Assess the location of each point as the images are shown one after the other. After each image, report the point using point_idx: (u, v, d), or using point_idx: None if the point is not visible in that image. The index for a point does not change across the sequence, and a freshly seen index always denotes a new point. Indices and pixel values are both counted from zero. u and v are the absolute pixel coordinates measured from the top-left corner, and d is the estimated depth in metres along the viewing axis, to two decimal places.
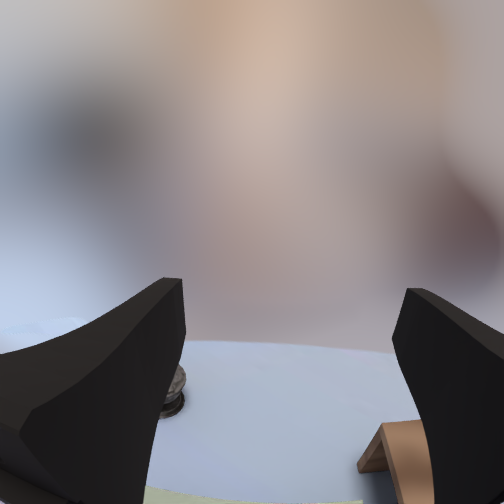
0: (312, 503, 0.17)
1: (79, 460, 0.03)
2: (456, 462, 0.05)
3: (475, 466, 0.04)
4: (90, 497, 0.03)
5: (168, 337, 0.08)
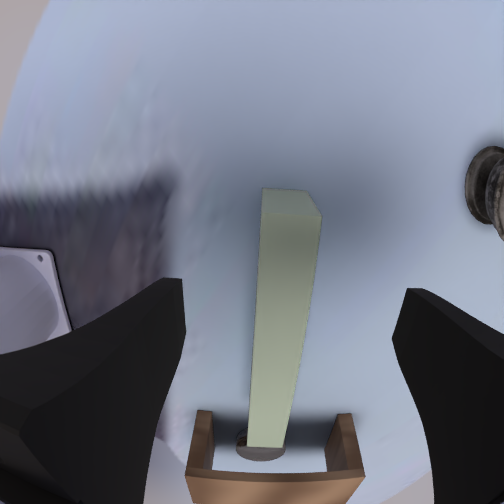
0: None
1: (79, 460, 0.03)
2: (456, 462, 0.05)
3: (475, 466, 0.04)
4: (90, 497, 0.03)
5: (168, 337, 0.08)
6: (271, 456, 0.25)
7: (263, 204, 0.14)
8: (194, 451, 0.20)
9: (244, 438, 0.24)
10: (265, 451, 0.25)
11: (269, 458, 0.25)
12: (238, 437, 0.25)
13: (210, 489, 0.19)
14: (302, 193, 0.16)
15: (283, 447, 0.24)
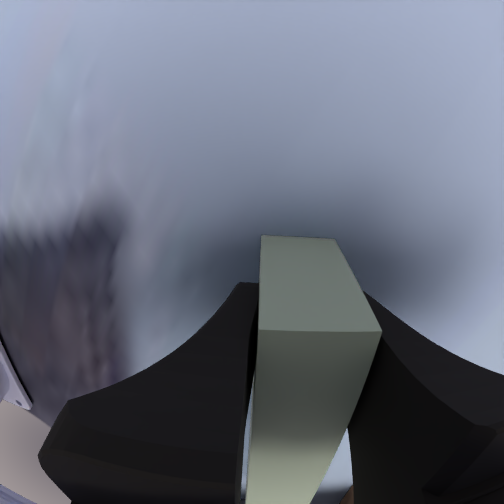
0: None
1: None
2: (369, 481, 0.05)
3: (384, 490, 0.04)
4: None
5: (254, 344, 0.08)
6: None
7: (262, 294, 0.07)
8: None
9: None
10: None
11: None
12: None
13: None
14: (330, 249, 0.10)
15: None
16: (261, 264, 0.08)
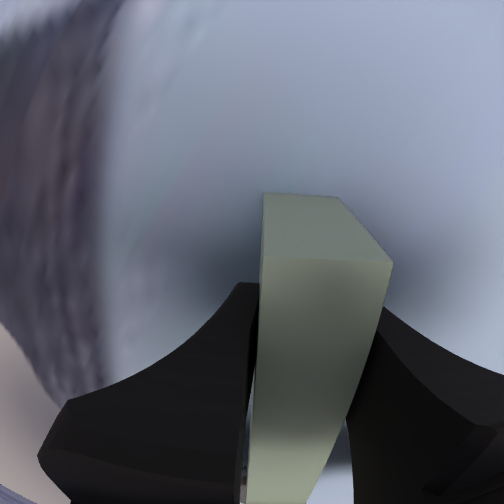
0: None
1: (237, 490, 0.03)
2: (370, 481, 0.05)
3: (385, 489, 0.04)
4: None
5: (254, 344, 0.08)
6: None
7: (266, 231, 0.07)
8: None
9: (241, 482, 0.16)
10: None
11: None
12: None
13: None
14: (334, 204, 0.09)
15: None
16: (264, 211, 0.08)
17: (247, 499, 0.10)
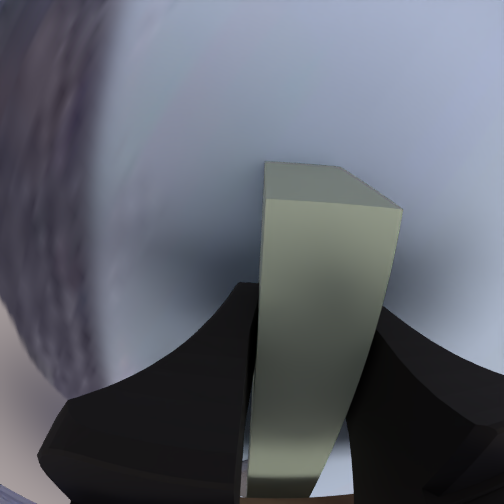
0: None
1: (237, 490, 0.03)
2: (370, 481, 0.05)
3: (385, 489, 0.04)
4: None
5: (254, 344, 0.08)
6: None
7: (268, 183, 0.06)
8: None
9: (242, 475, 0.15)
10: None
11: None
12: None
13: None
14: (336, 170, 0.09)
15: None
16: (266, 172, 0.08)
17: (248, 490, 0.09)
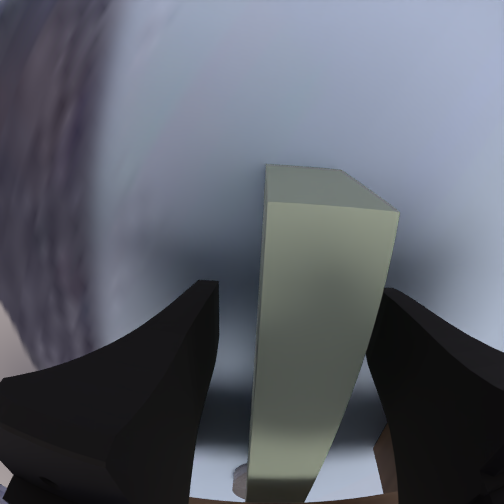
0: None
1: (149, 478, 0.03)
2: (418, 472, 0.05)
3: (436, 478, 0.04)
4: None
5: (208, 341, 0.08)
6: None
7: (269, 186, 0.07)
8: None
9: (242, 477, 0.16)
10: None
11: None
12: (235, 474, 0.16)
13: None
14: (336, 172, 0.09)
15: None
16: (267, 175, 0.08)
17: (248, 486, 0.09)
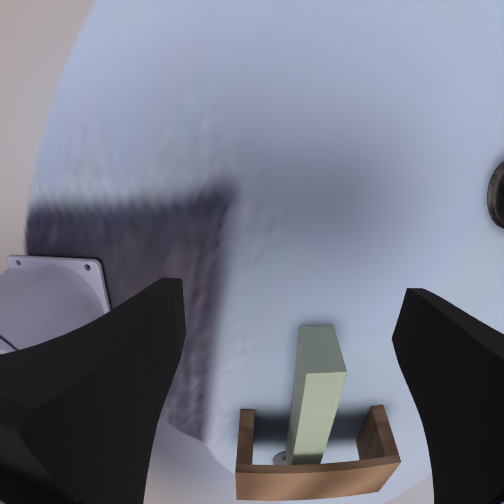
0: None
1: (79, 460, 0.03)
2: (456, 462, 0.05)
3: (475, 465, 0.04)
4: (90, 497, 0.03)
5: (168, 337, 0.08)
6: None
7: (305, 359, 0.19)
8: (242, 448, 0.22)
9: (280, 460, 0.28)
10: None
11: None
12: (275, 459, 0.28)
13: (257, 484, 0.20)
14: (330, 331, 0.21)
15: None
16: (302, 343, 0.20)
17: (292, 459, 0.21)
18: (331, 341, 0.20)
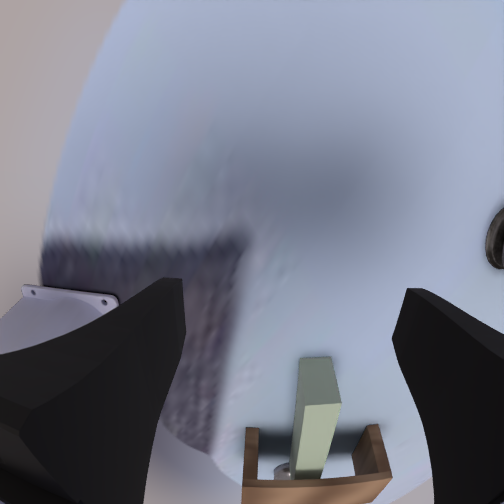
0: None
1: (79, 460, 0.03)
2: (456, 462, 0.05)
3: (475, 466, 0.04)
4: (90, 497, 0.03)
5: (168, 337, 0.08)
6: None
7: (304, 391, 0.20)
8: (248, 464, 0.23)
9: (280, 472, 0.29)
10: None
11: None
12: (275, 471, 0.30)
13: (261, 496, 0.22)
14: (328, 362, 0.22)
15: None
16: (302, 376, 0.21)
17: (295, 474, 0.23)
18: (328, 373, 0.21)
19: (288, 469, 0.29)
